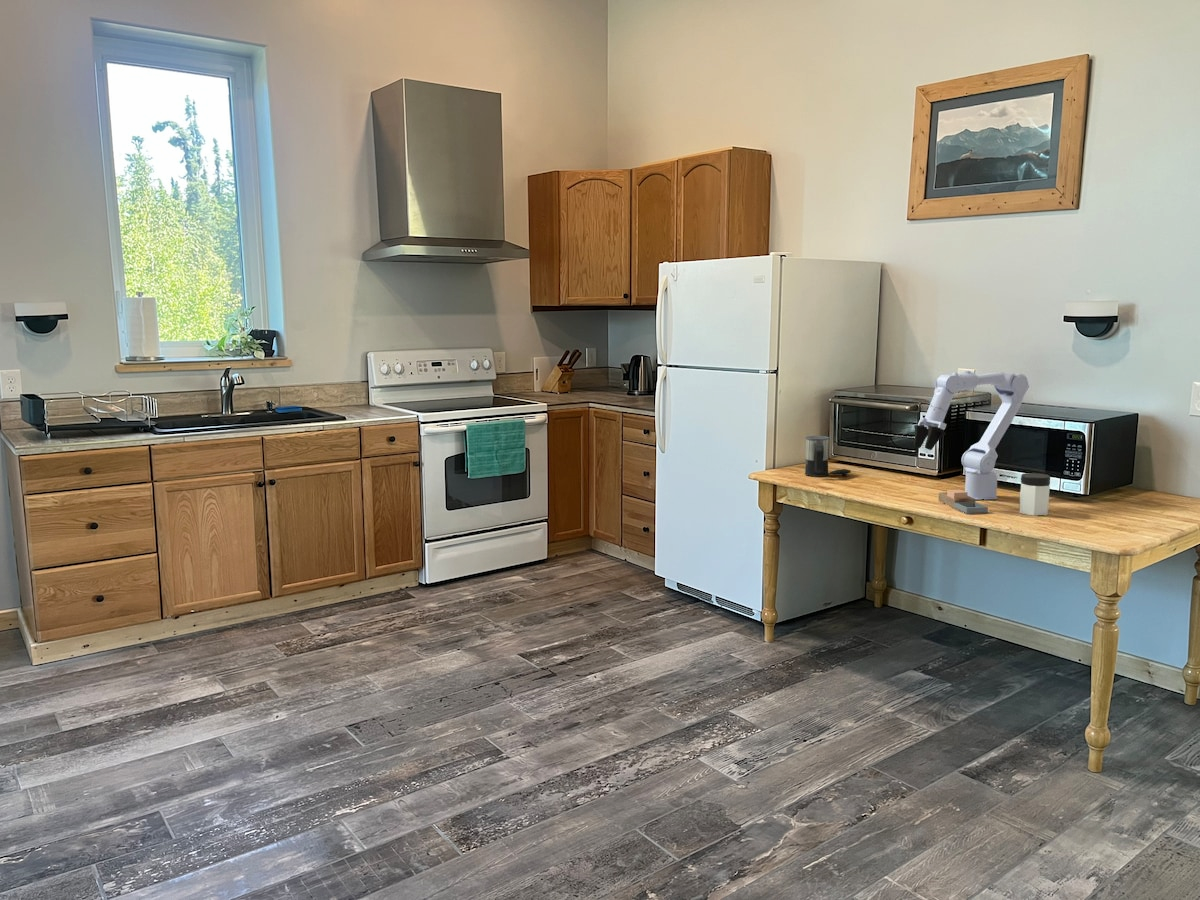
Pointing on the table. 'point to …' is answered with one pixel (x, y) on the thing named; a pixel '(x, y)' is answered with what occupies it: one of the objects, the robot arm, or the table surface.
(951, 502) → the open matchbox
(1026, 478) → the jar
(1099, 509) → the table surface
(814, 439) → the milk frother
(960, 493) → the peach flat square block
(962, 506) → the tray
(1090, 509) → the table surface
